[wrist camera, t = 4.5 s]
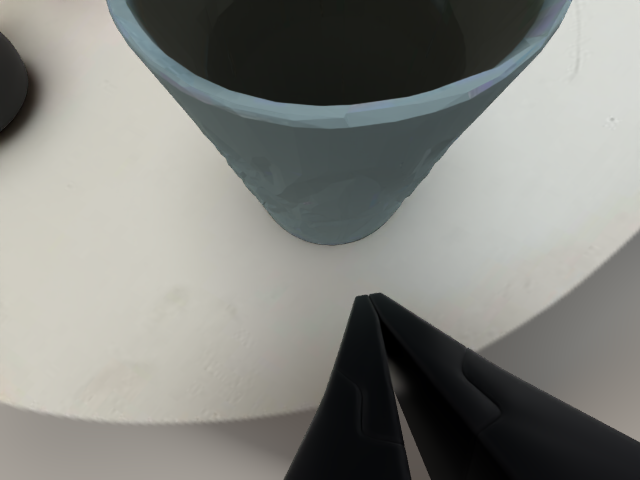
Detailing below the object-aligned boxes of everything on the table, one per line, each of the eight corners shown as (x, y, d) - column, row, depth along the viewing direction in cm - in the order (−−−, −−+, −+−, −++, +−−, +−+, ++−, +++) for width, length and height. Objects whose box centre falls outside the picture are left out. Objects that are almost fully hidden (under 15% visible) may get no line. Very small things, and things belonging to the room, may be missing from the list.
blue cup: (216, 189, 18) (0, -41, 6) (319, 75, 20) (299, -274, 8) (351, 293, 16) (399, 243, 4) (453, 158, 18) (682, -137, 6)
